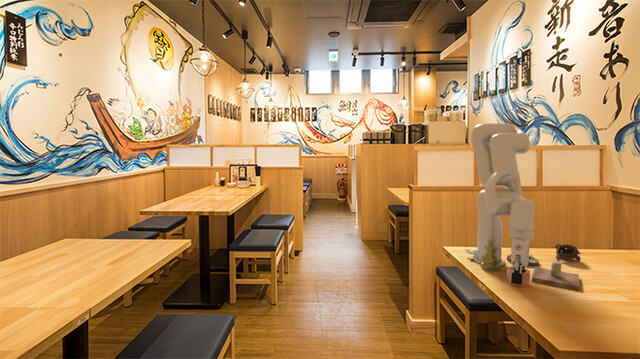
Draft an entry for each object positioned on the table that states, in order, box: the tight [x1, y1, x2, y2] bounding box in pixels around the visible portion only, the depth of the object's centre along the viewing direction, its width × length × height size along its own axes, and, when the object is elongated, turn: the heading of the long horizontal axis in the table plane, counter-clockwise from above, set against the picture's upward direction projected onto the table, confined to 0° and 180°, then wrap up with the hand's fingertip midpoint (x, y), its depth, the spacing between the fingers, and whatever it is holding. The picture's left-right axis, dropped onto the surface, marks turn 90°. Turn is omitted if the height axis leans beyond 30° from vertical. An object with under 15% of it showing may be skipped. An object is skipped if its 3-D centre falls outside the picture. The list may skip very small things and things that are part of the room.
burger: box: [506, 254, 540, 267], centre depth 145 cm, size 12×12×8 cm
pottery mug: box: [555, 243, 582, 262], centre depth 147 cm, size 12×10×8 cm
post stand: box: [531, 261, 581, 292], centre depth 125 cm, size 14×14×6 cm
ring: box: [506, 265, 531, 288], centre depth 121 cm, size 7×7×5 cm
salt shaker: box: [480, 244, 502, 272], centre depth 136 cm, size 7×7×10 cm
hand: (517, 279), depth 122 cm, fingers open, 9 cm apart
